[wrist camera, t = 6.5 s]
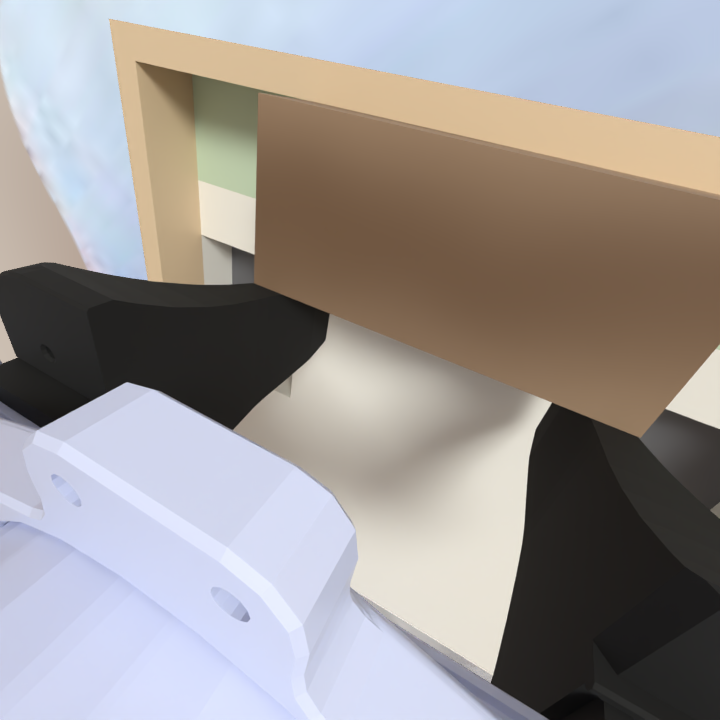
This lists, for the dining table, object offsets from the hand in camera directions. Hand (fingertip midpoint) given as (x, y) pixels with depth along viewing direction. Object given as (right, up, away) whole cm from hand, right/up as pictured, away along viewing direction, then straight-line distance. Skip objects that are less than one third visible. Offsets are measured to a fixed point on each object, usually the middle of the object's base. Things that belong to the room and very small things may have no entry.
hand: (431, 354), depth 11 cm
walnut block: (+1, +3, -1) cm, 4 cm away
